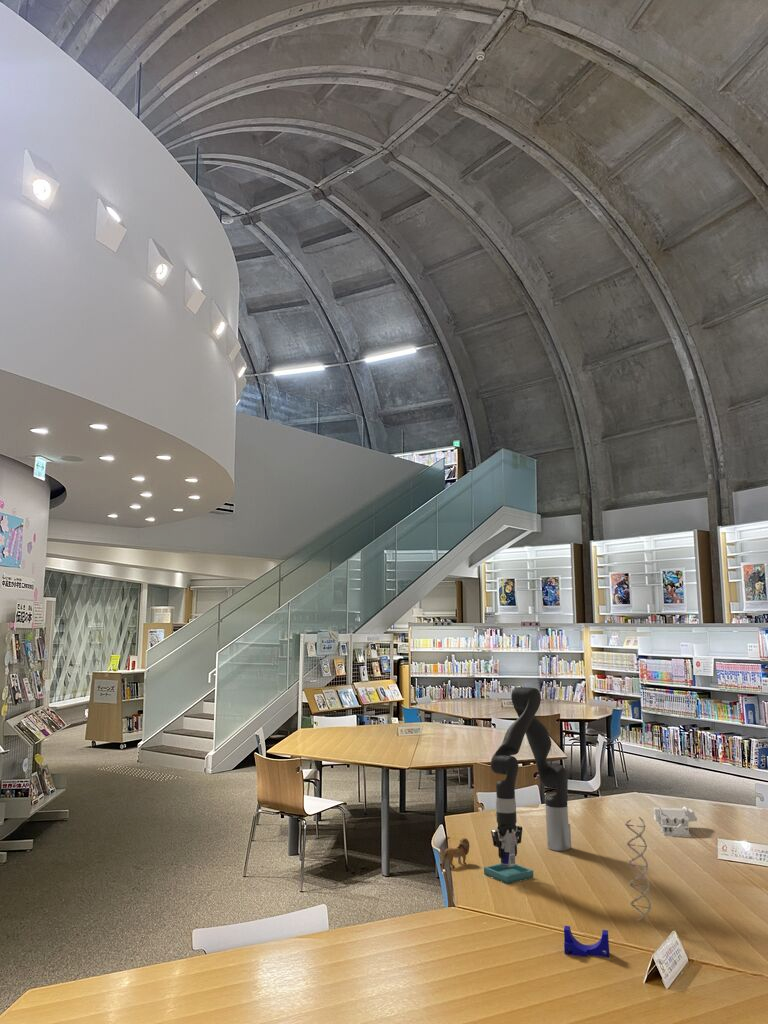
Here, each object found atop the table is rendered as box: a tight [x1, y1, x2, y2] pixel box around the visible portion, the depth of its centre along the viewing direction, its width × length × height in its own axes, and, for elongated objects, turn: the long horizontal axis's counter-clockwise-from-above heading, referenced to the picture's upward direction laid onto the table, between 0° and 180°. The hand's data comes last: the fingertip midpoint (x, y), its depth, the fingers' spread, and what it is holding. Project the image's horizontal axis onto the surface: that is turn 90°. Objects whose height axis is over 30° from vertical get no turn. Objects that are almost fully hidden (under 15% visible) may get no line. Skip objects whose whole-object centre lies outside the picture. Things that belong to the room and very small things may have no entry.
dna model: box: [624, 816, 652, 921], centre depth 227 cm, size 7×6×30 cm
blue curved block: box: [563, 925, 610, 958], centre depth 200 cm, size 12×4×6 cm, turn 72°
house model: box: [652, 805, 698, 838], centre depth 327 cm, size 19×20×10 cm
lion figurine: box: [441, 837, 470, 868], centre depth 280 cm, size 15×5×9 cm, turn 131°
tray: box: [483, 863, 534, 885], centre depth 265 cm, size 13×13×2 cm
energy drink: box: [500, 833, 516, 868], centre depth 267 cm, size 5×5×12 cm
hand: (507, 857), depth 266 cm, fingers closed on energy drink, 5 cm apart
